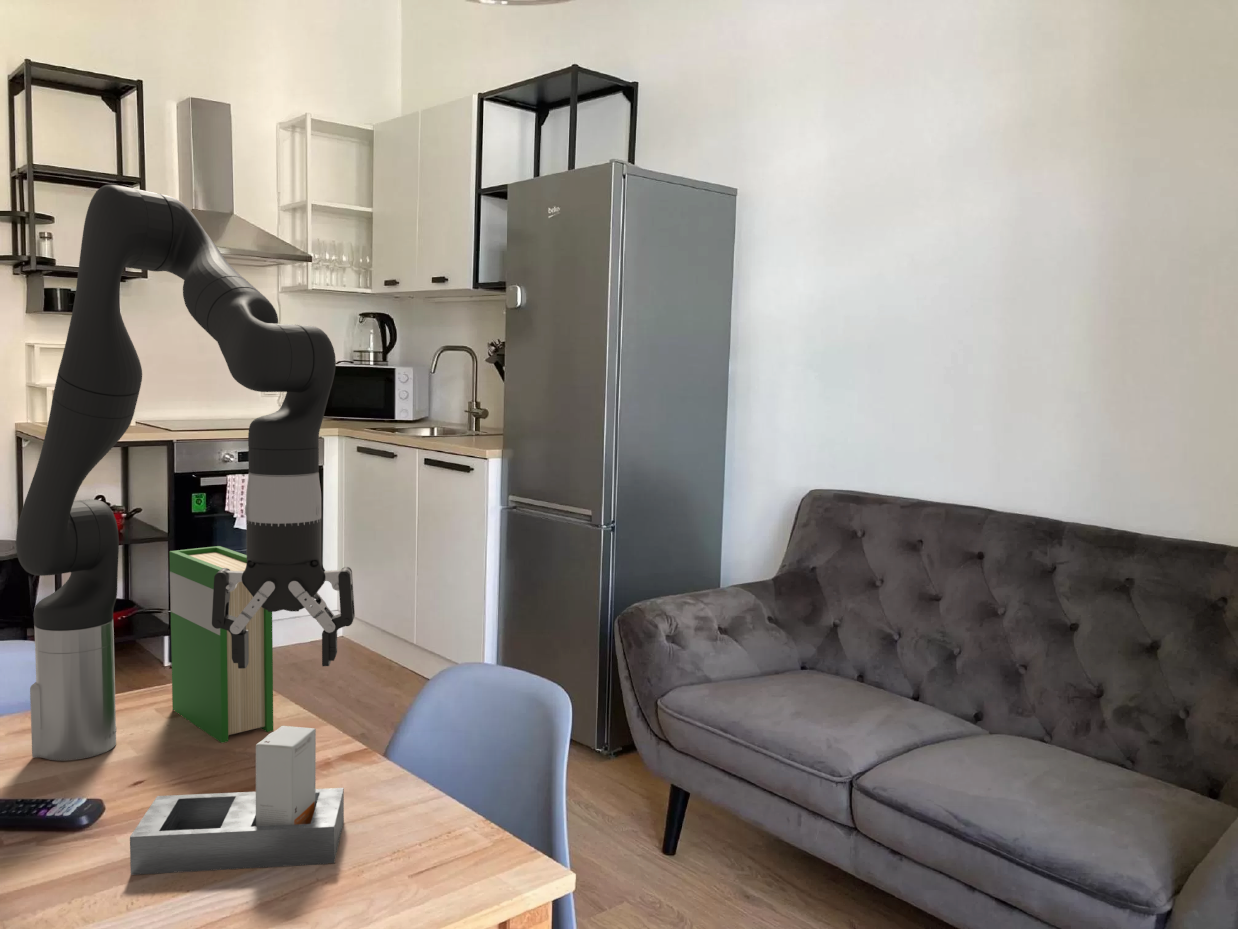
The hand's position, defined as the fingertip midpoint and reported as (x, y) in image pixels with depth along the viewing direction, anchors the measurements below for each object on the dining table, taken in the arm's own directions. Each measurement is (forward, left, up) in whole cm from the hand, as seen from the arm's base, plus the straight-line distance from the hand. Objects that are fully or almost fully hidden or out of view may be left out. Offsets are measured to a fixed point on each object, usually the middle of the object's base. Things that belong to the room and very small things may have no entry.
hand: (285, 665), depth 110 cm
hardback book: (-15, +41, -20) cm, 48 cm away
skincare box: (0, 0, -20) cm, 20 cm away
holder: (-4, 0, -20) cm, 20 cm away
